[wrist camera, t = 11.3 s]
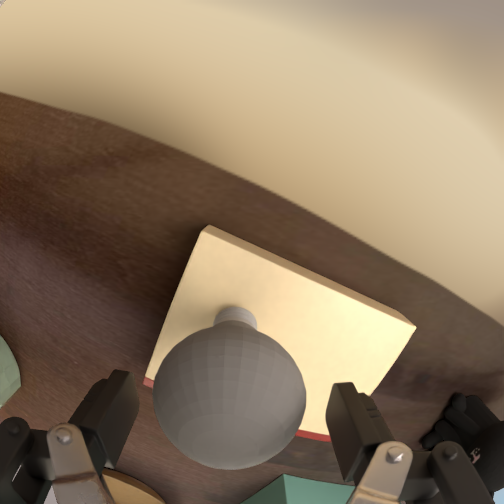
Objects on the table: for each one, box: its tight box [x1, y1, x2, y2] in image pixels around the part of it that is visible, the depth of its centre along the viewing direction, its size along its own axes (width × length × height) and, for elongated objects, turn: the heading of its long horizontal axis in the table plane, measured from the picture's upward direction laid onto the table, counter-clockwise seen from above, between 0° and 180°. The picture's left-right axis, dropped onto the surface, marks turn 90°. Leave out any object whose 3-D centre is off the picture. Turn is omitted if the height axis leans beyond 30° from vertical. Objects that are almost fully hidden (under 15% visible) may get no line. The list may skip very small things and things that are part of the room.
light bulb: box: [152, 307, 306, 470], centre depth 12 cm, size 6×6×10 cm
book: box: [143, 225, 416, 442], centre depth 19 cm, size 16×12×3 cm
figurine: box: [422, 393, 504, 499], centre depth 17 cm, size 16×14×15 cm
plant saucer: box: [102, 468, 166, 504], centre depth 25 cm, size 15×15×3 cm
